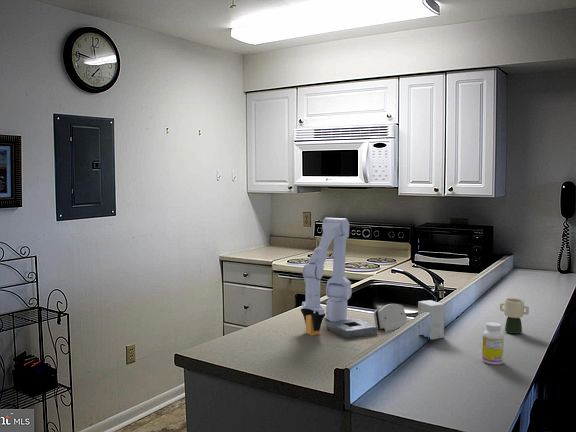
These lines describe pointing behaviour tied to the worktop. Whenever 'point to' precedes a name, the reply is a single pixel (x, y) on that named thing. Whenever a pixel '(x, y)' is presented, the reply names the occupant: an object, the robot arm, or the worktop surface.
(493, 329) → the supplement bottle
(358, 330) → the grey square-hole board
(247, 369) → the worktop surface
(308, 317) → the block
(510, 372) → the worktop surface
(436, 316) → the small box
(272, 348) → the worktop surface
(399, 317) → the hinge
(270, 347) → the worktop surface
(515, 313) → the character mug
